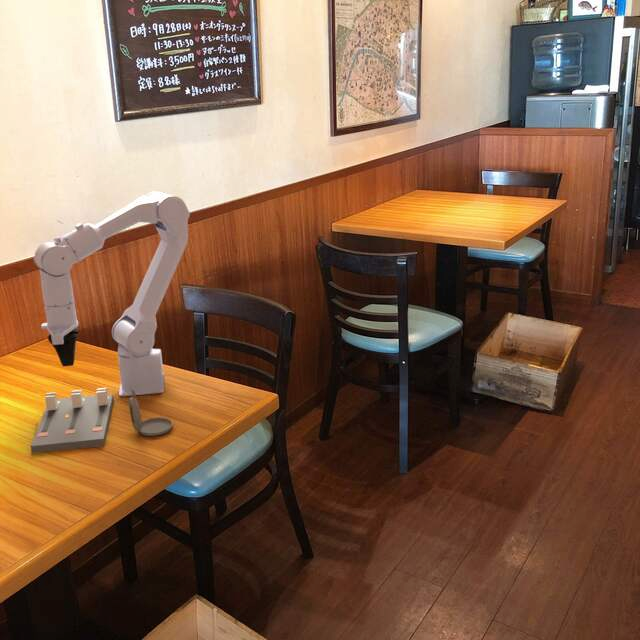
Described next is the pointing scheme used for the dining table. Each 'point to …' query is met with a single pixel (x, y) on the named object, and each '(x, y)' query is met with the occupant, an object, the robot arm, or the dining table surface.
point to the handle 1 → (51, 401)
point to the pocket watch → (150, 425)
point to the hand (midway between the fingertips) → (68, 364)
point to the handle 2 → (102, 396)
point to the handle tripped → (77, 398)
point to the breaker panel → (73, 425)
